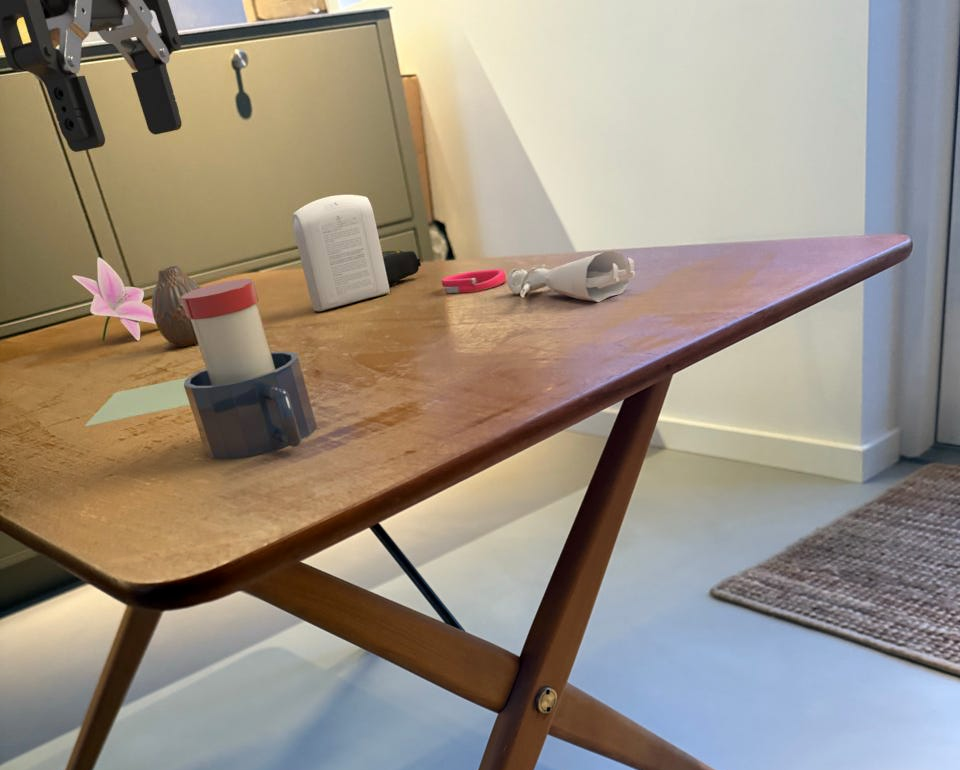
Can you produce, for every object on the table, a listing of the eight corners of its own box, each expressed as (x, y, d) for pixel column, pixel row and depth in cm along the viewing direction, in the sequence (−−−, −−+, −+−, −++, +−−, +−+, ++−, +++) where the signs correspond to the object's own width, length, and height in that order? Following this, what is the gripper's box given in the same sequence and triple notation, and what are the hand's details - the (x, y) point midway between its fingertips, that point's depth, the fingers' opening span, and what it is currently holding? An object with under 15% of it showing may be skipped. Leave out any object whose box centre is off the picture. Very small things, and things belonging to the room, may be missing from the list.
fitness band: (433, 294, 123) (430, 281, 123) (462, 281, 127) (460, 269, 126) (486, 291, 118) (484, 278, 118) (515, 278, 122) (513, 265, 122)
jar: (223, 455, 79) (174, 302, 73) (233, 434, 83) (187, 289, 78) (292, 441, 79) (247, 287, 73) (298, 420, 83) (257, 274, 78)
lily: (93, 363, 131) (104, 290, 126) (46, 325, 136) (55, 253, 132) (174, 364, 140) (187, 296, 135) (127, 328, 145) (138, 261, 141)
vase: (153, 353, 124) (128, 278, 120) (181, 338, 129) (157, 266, 125) (204, 346, 122) (180, 270, 118) (229, 331, 127) (207, 257, 123)
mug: (193, 452, 83) (168, 379, 80) (290, 417, 86) (270, 346, 84) (247, 480, 74) (222, 399, 71) (354, 440, 77) (334, 362, 74)
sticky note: (85, 431, 96) (83, 426, 96) (116, 397, 106) (114, 392, 106) (231, 401, 95) (229, 396, 95) (248, 369, 106) (246, 365, 106)
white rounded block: (383, 290, 133) (360, 187, 127) (396, 292, 129) (372, 187, 123) (309, 310, 129) (282, 206, 124) (319, 314, 126) (292, 207, 120)
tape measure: (385, 291, 131) (379, 261, 130) (352, 291, 136) (345, 262, 134) (424, 277, 135) (418, 247, 134) (390, 277, 140) (384, 249, 138)
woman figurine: (578, 265, 97) (466, 275, 111) (586, 313, 99) (475, 316, 113) (662, 235, 102) (546, 248, 116) (669, 281, 104) (554, 288, 118)
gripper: (55, -148, 64) (144, 137, 72) (-121, -178, 52) (7, 166, 60) (155, -183, 61) (236, 118, 69) (-8, -221, 50) (111, 144, 57)
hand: (129, 140), depth 65 cm, fingers open, 8 cm apart
